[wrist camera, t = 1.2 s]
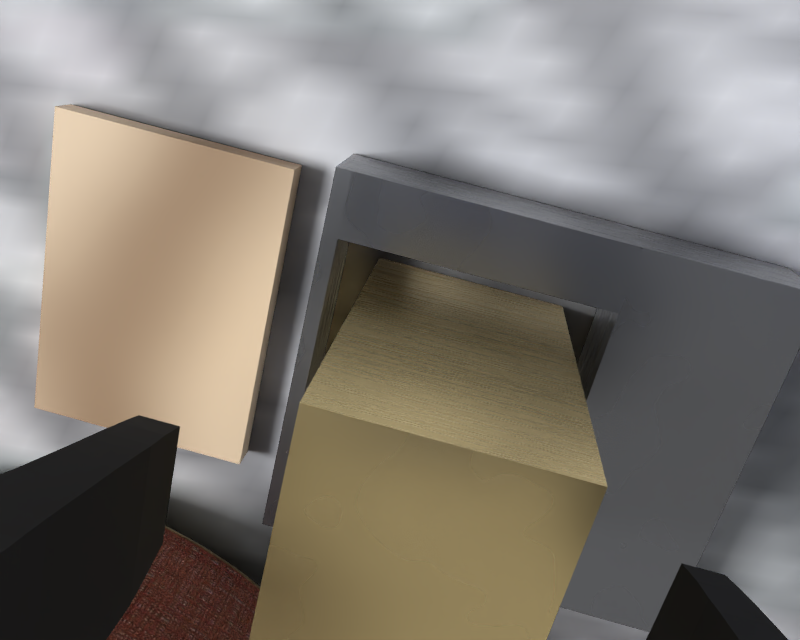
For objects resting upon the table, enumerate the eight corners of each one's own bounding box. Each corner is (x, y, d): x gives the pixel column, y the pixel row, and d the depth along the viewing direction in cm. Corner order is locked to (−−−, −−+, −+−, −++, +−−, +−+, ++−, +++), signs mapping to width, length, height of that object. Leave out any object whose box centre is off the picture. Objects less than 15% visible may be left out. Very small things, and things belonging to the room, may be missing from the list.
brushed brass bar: (562, 306, 16) (607, 486, 9) (508, 464, 17) (515, 716, 11) (379, 257, 16) (300, 403, 10) (341, 418, 17) (248, 640, 11)
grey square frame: (788, 267, 15) (824, 295, 13) (647, 580, 18) (663, 636, 16) (353, 153, 15) (335, 166, 14) (284, 479, 18) (262, 523, 17)
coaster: (301, 165, 16) (294, 169, 15) (247, 451, 18) (239, 464, 17) (71, 104, 16) (55, 106, 15) (48, 396, 18) (34, 407, 18)
